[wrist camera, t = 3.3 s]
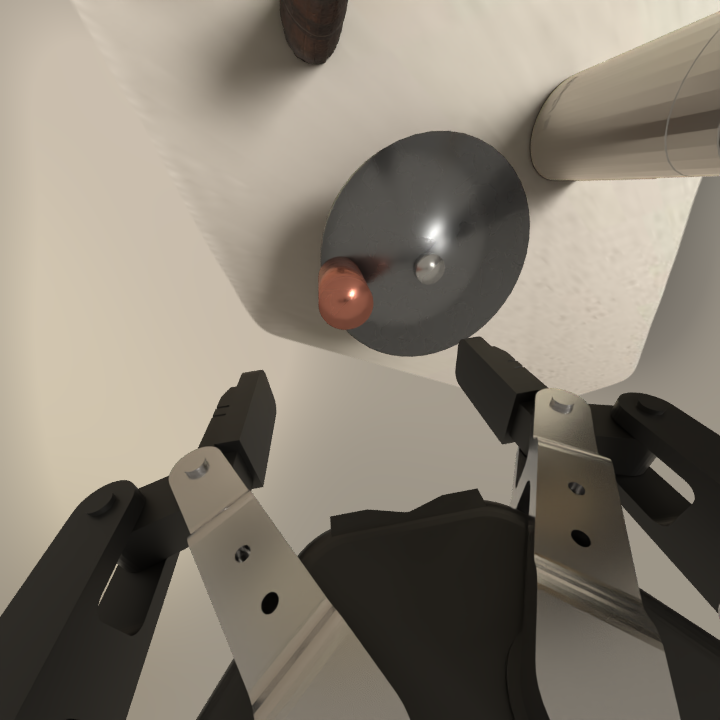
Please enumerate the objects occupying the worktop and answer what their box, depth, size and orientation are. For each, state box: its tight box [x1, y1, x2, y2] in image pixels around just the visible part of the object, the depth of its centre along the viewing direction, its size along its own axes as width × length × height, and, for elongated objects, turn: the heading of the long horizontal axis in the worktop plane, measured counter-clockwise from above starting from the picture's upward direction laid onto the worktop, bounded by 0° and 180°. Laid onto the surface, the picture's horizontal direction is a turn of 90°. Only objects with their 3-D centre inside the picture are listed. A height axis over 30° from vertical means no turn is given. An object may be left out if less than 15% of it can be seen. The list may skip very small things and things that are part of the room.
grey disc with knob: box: [318, 131, 530, 357], centre depth 21 cm, size 18×18×8 cm
